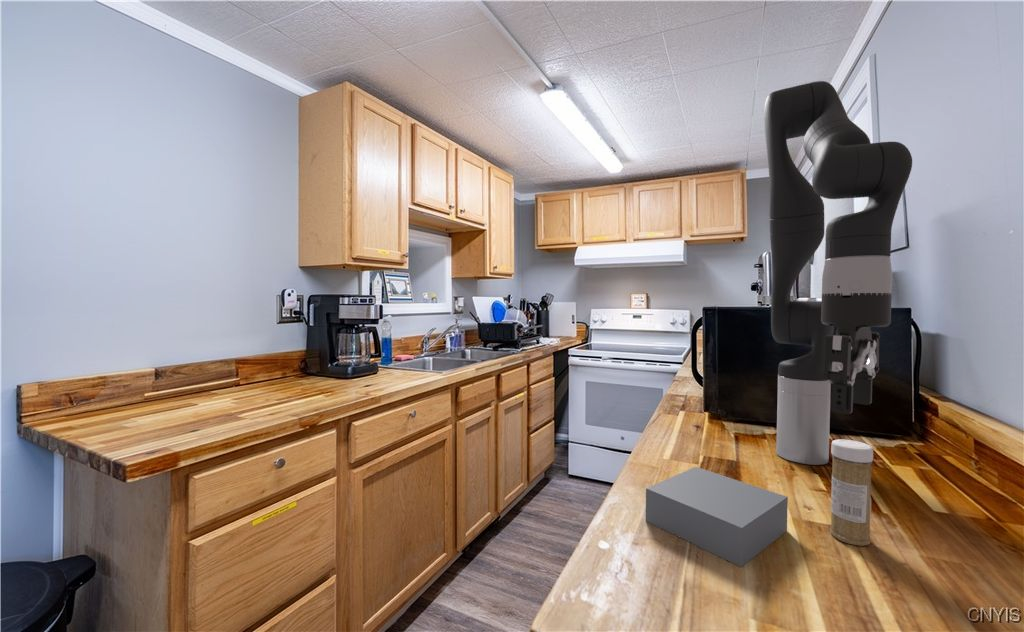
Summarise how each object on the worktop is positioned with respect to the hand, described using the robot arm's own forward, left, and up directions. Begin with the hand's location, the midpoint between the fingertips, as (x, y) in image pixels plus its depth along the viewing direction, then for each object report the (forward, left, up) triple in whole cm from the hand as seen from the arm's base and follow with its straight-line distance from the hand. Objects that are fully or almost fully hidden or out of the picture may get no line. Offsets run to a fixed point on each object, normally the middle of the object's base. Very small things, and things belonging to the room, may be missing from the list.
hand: (851, 408), depth 59 cm
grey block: (+12, -13, -18) cm, 25 cm away
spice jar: (0, 0, -19) cm, 19 cm away
